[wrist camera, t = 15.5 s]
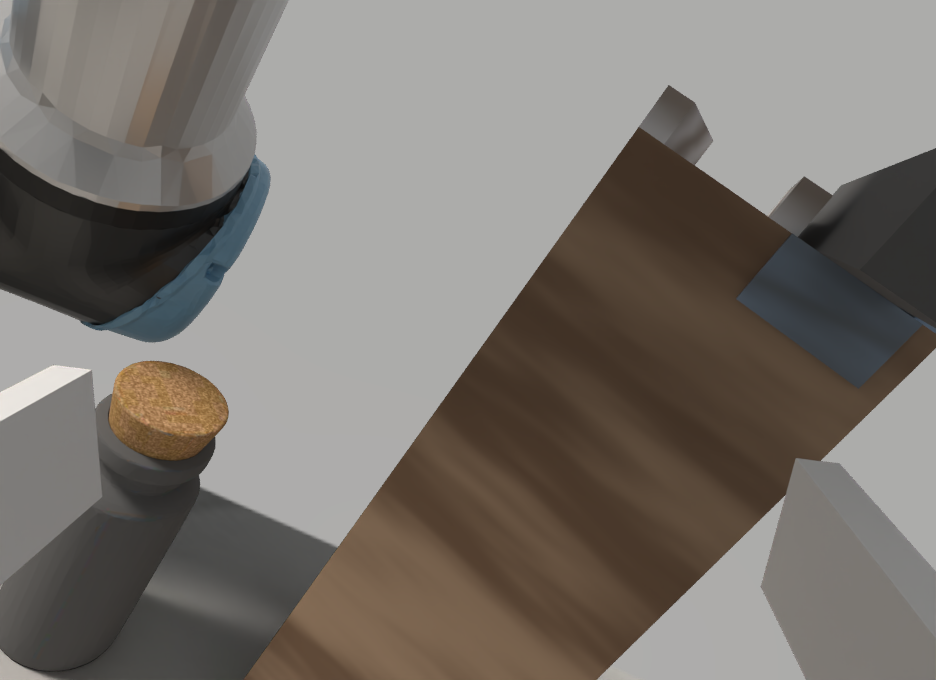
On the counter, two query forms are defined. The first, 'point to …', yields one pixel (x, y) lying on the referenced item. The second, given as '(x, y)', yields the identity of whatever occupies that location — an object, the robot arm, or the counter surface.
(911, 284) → the bar
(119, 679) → the counter surface
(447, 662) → the wooden block tower
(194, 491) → the bottle
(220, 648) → the counter surface
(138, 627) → the counter surface
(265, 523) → the counter surface
